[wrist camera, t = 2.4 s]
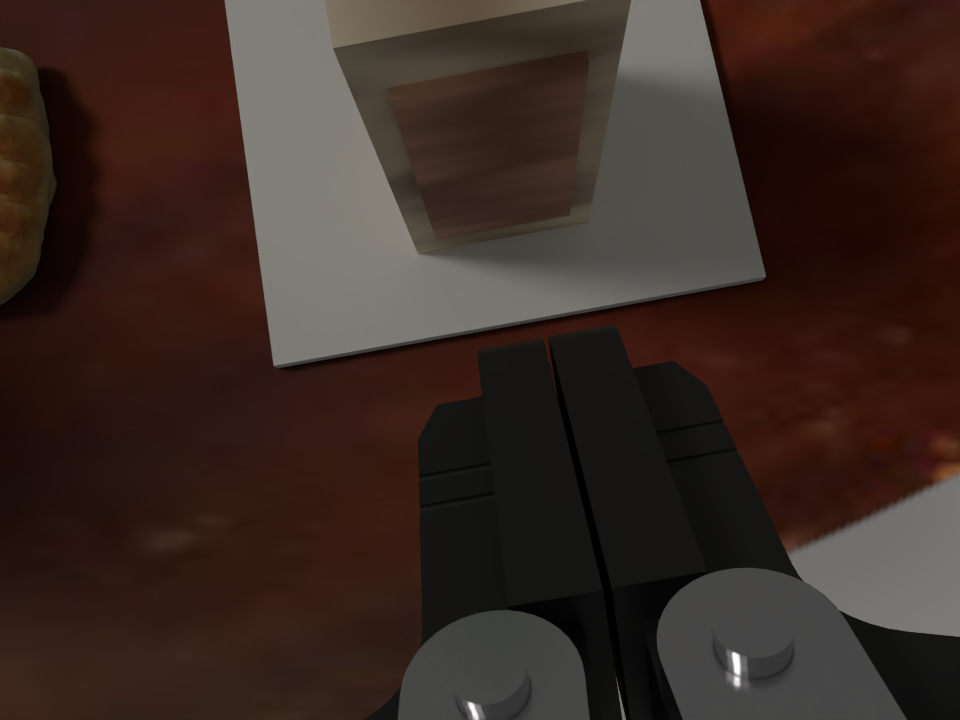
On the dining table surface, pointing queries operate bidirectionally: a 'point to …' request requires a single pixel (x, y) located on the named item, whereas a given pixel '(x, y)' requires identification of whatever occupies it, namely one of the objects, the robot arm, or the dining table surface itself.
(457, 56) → the maple block
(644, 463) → the robot arm
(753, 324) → the dining table surface
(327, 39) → the grey mat
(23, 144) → the pastry
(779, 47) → the dining table surface
